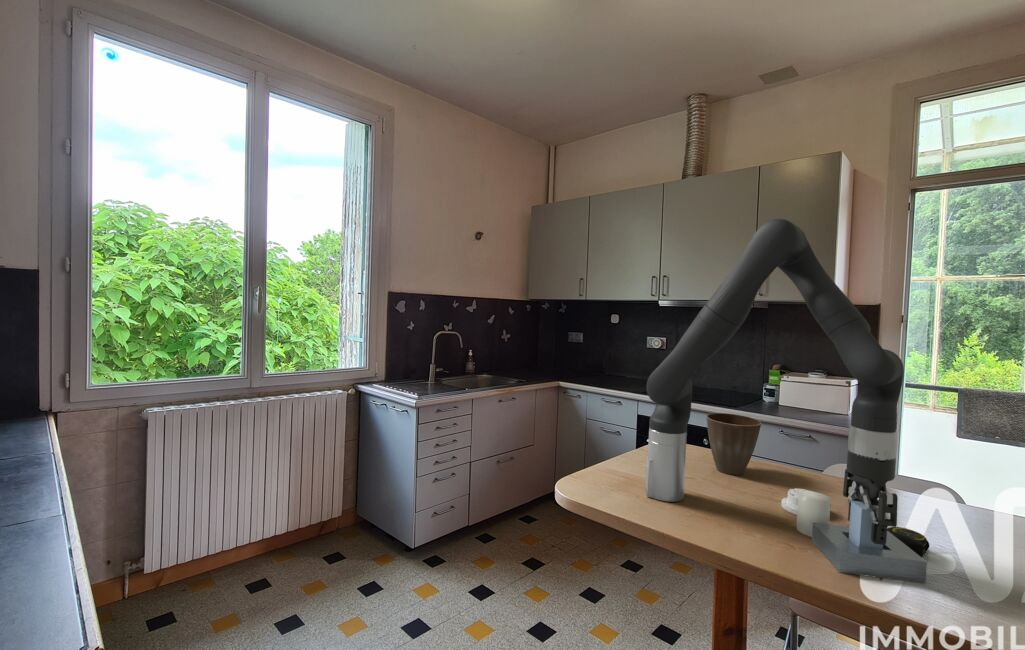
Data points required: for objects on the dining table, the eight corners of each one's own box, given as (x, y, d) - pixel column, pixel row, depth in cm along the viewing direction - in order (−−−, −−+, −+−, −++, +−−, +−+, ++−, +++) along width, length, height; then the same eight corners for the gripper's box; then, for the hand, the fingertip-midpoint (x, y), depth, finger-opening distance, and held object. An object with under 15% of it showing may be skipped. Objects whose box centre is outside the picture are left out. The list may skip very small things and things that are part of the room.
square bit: (858, 564, 90) (861, 508, 90) (847, 554, 94) (851, 500, 94) (881, 567, 90) (885, 511, 89) (870, 556, 94) (873, 502, 93)
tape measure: (879, 548, 98) (880, 530, 97) (891, 539, 101) (892, 522, 101) (921, 563, 92) (922, 544, 92) (932, 553, 96) (933, 536, 96)
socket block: (839, 572, 87) (840, 551, 87) (811, 541, 99) (812, 522, 99) (925, 583, 85) (927, 561, 85) (886, 550, 96) (888, 531, 96)
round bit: (802, 536, 101) (804, 499, 101) (792, 523, 107) (794, 489, 107) (833, 539, 100) (835, 503, 100) (821, 527, 106) (823, 492, 106)
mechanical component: (790, 517, 111) (836, 522, 109) (791, 499, 111) (838, 504, 109) (775, 500, 121) (818, 505, 119) (776, 483, 121) (819, 488, 119)
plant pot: (764, 471, 142) (766, 419, 142) (750, 484, 131) (753, 428, 130) (713, 459, 152) (715, 410, 151) (696, 470, 141) (699, 418, 140)
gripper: (832, 439, 99) (828, 514, 99) (869, 461, 85) (864, 548, 86) (872, 442, 97) (867, 519, 98) (917, 465, 83) (911, 554, 84)
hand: (866, 532), depth 92 cm, fingers open, 8 cm apart
